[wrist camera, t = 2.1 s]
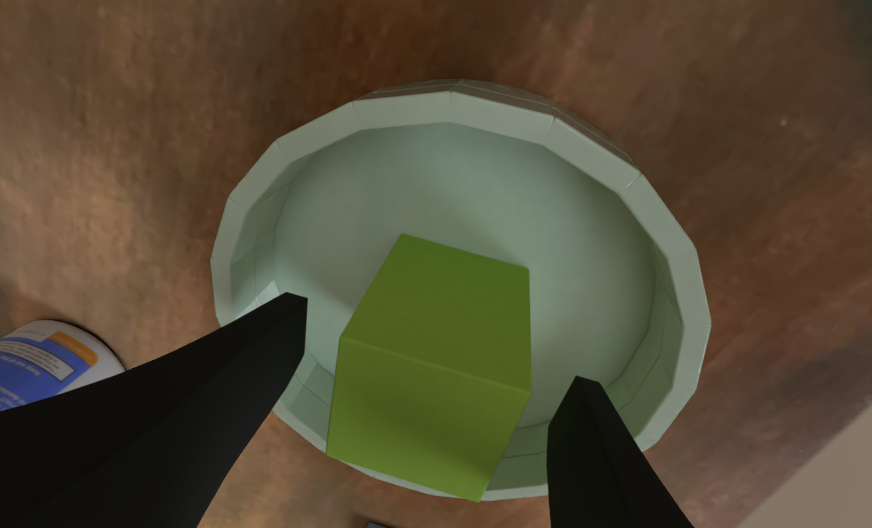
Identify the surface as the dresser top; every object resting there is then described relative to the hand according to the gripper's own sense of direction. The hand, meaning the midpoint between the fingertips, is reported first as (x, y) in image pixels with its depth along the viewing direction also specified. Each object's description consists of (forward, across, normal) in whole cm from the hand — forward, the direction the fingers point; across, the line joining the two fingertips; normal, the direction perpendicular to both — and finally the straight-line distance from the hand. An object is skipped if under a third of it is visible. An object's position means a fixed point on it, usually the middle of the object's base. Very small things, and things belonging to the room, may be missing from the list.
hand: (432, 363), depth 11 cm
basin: (+3, 0, 0) cm, 4 cm away
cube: (+3, 0, 0) cm, 3 cm away
